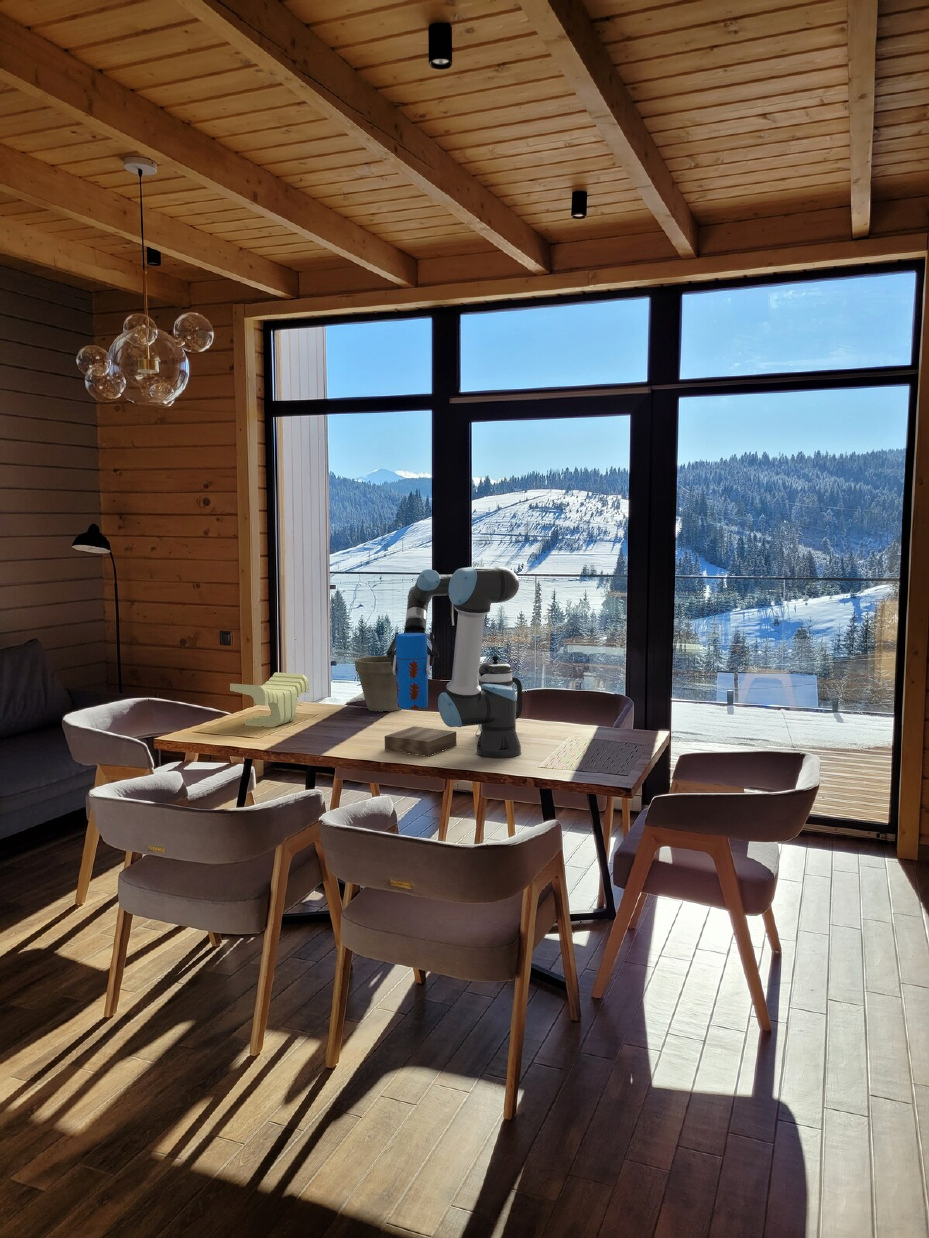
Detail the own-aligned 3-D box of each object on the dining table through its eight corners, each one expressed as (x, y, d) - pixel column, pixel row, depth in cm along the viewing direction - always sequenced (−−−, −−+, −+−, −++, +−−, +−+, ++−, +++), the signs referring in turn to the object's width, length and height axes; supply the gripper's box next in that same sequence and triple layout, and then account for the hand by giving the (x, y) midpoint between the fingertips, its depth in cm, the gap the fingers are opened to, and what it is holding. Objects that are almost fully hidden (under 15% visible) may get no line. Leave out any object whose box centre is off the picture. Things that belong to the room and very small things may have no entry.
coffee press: (515, 741, 326) (515, 658, 323) (471, 739, 329) (471, 657, 326) (522, 731, 343) (522, 652, 340) (480, 729, 346) (480, 651, 343)
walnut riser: (456, 745, 321) (456, 731, 320) (428, 756, 305) (428, 741, 305) (414, 739, 330) (413, 726, 329) (384, 750, 315) (384, 735, 314)
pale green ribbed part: (266, 732, 344) (264, 685, 343) (231, 729, 350) (229, 683, 349) (309, 717, 372) (308, 674, 370) (276, 714, 378) (275, 672, 376)
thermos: (399, 709, 310) (397, 636, 307) (394, 704, 320) (393, 633, 318) (431, 708, 312) (429, 635, 310) (425, 702, 323) (424, 632, 320)
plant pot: (362, 703, 403) (361, 654, 401) (417, 703, 400) (417, 654, 398) (350, 714, 378) (349, 662, 376) (408, 714, 376) (408, 662, 374)
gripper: (449, 629, 328) (445, 678, 314) (384, 629, 330) (378, 679, 316) (447, 615, 322) (444, 665, 308) (382, 616, 324) (375, 666, 310)
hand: (410, 672), depth 312 cm, fingers closed on thermos, 11 cm apart
